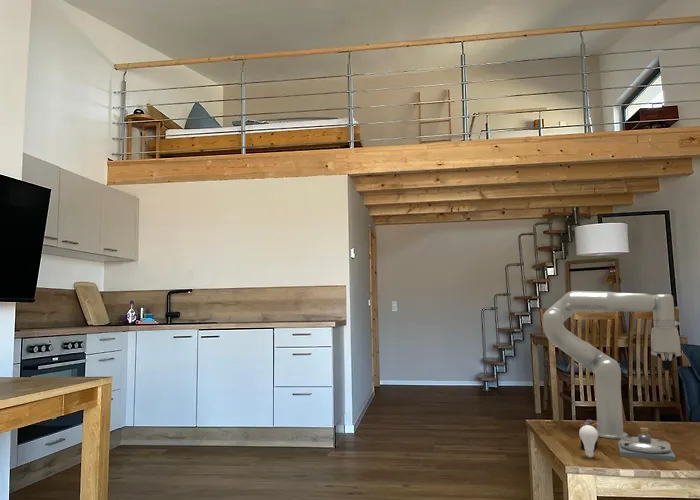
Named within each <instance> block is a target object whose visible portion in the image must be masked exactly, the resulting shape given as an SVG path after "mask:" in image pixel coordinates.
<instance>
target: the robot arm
mask: <svg viewBox="0 0 700 500" xmlns="http://www.w3.org/2000/svg"><path fill="white" fill-rule="evenodd" d="M674 303H675V302H674V296H673V295H672V294H670V293H669V294H668V293H659V294H649V293H645V292H643V293H642V292H641V293H640V292H638V293H637V292H636V293H635V292H615V291H614V292H613V291H600V290H599V291H598V290H597V291H596V290H594V291H591V290H590V291H589V290H588V291H587V290H571V291H568V292H566V293H565V294H564V295H563V296H562V297H561V298H560V299H559V300H557V301H556V302H555V303H553V304H552V305H551V306H550V307H549V308H548V309H547V310H545V311H544V313H543V316H542V319H543V320H542V329H543V332H544V335H545V336H546V338H547V340H548V341H550V343H552V344H553V345H554V346H555V347H556V348H558V349H559V350H561V351H562V352H564V354H566V355H568V356H569V358H570V357H571V359H573V360H574V361H575V362H576V363H578V364H580V365H581V366H583V367H584V368H586V369H587V370H589V371H590V372H592V373H594V375H595V380H594V381H595V382H594V383H595V386H594V387H595V402H596V404H595V405H596V422H595V423H596V424H597V432H598V438H599V437H601V438H604V439H614V440H615V439H616V440H617V439H618V440H620V439H621V438H624V437H629V436H628V433H626V431H624V424H623V423H624V422H623V421H624V419H623V406H622V401H623V400H622V390H621V389H622V386H621V385H622V383H621V382H622V371H621V367H620V365H619V363H618V361H616V359H614V358H612V357H611V356H608V355H607V354H606V353H604V352H602V351H601V350H600V349H598V348H596V347H595V346H594V345H592V344H591V343H590V342H587V341H586V340H583V339H581V338H580V337H578V336H577V335H575V334H574V333H572V332H571V331H570V330H568V329H567V328H566V327H565V325H564V323H565V321H567V320H568V319H569V318H570V317H571V316H573V315H574V314H575V313H576V312H578V311H579V312H597V313H598V312H599V313H601V312H603V313H605V312H607V313H609V312H610V313H611V312H613V313H614V312H635V313H636V312H637V313H638V312H639V313H648V312H652V315H653V316H652V318H653V327H651V332H650V349H651V350H650V354H651V356H656V357H658V358H659V359H660V360H661V365H662V369H663V370H664V371H665V372H667V371H669V372H670V371H671V369H672V360H673V359H675V358H676V357H681V356H683V355H682V351H681V350H682V349H681V341H680V340H681V339H680V336H679V330H678V327H676V326H680V322H679V321H676V320H675V304H674ZM665 354H667V358H665V357H666V356H665Z"/></svg>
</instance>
